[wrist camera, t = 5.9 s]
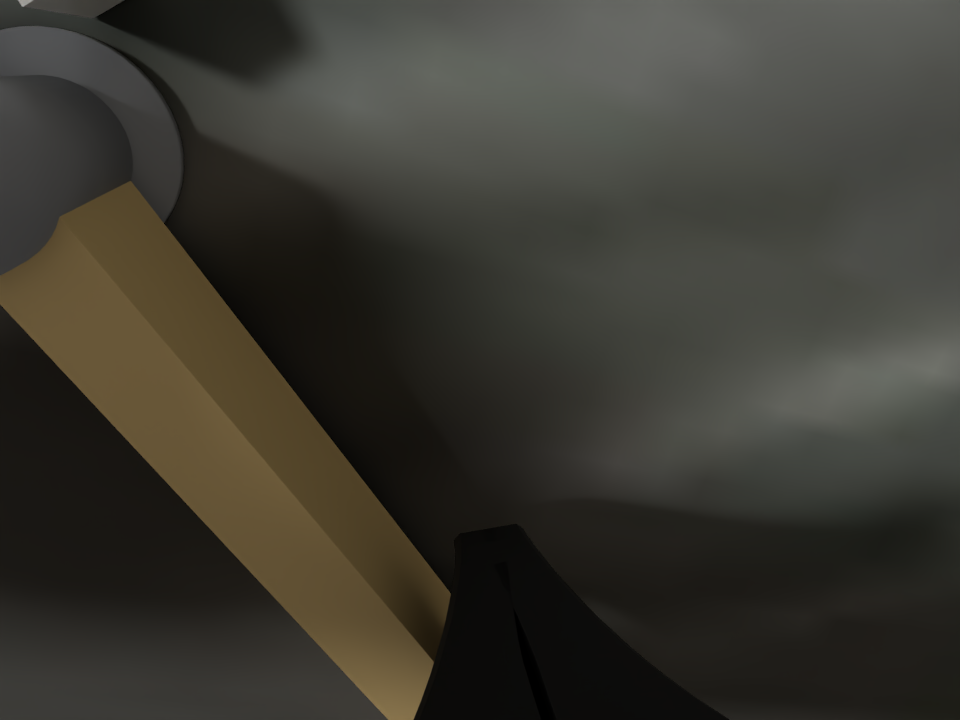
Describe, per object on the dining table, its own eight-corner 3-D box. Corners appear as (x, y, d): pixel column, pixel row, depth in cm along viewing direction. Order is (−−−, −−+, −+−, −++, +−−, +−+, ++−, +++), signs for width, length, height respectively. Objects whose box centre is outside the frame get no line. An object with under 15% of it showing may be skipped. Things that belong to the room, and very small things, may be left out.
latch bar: (-59, 124, 10) (-230, 150, 7) (63, 45, 9) (-60, 37, 7) (522, 795, 16) (553, 942, 14) (597, 755, 16) (644, 895, 14)
